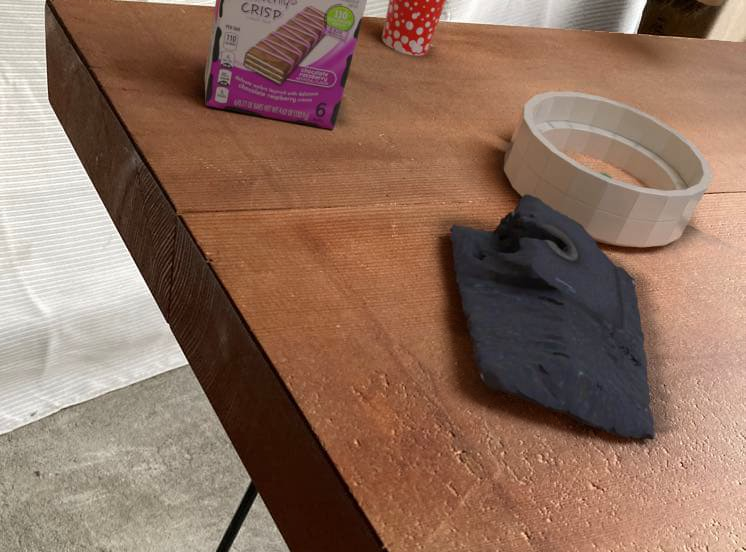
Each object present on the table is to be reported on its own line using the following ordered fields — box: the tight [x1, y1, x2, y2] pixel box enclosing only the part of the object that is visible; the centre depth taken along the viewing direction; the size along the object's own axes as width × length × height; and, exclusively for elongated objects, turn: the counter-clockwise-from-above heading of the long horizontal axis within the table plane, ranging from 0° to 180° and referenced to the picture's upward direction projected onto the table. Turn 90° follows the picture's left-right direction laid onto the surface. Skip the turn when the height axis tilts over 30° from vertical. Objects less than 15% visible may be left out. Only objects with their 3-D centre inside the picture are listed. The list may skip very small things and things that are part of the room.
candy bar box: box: [204, 0, 368, 130], centre depth 77 cm, size 11×5×16 cm, turn 97°
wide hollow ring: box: [503, 90, 713, 248], centre depth 84 cm, size 17×17×6 cm
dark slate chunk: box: [449, 194, 655, 440], centre depth 68 cm, size 15×22×5 cm
